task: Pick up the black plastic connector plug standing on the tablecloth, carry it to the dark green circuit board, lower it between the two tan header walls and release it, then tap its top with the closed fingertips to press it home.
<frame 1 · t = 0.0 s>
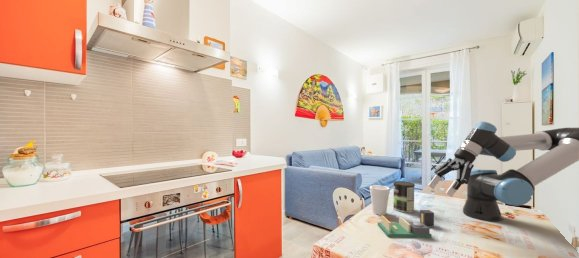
hand: (439, 190, 110), 15 cm above the table, tool tilted 35°, fingers open, 13 cm apart
coffee can: (403, 209, 131), on the table
board: (402, 230, 103), on the table
plug: (426, 224, 110), on the table
foam cup: (379, 213, 126), on the table
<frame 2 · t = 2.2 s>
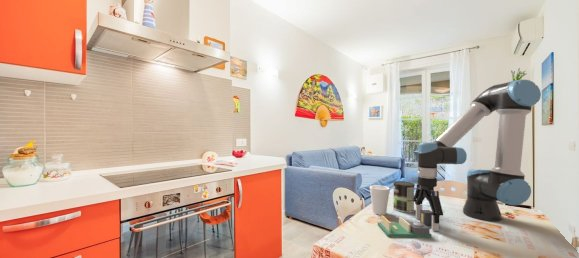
hand: (426, 224, 110), 0 cm above the table, tool pointing down, fingers open, 13 cm apart
nothing on the table moved.
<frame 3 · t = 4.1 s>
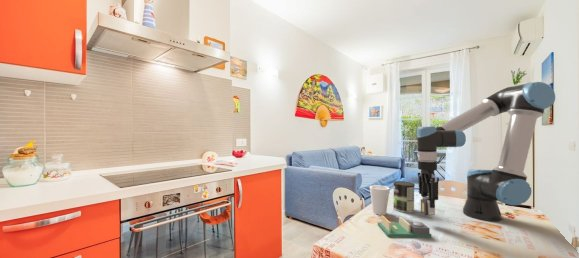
hand: (428, 212, 110), 5 cm above the table, tool pointing down, fingers closed on plug, 4 cm apart
plug: (427, 213, 110), point 5 cm above the table, touching gripper
everything else where it was.
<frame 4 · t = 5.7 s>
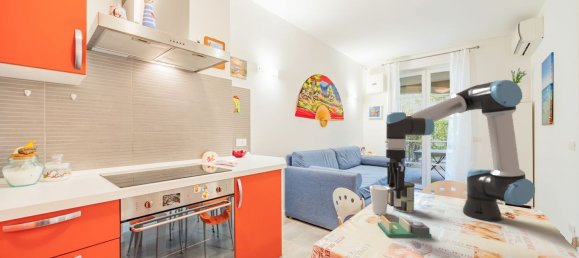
hand: (394, 204, 104), 11 cm above the table, tool pointing down, fingers closed on plug, 4 cm apart
plug: (393, 205, 104), point 11 cm above the table, touching gripper
everything else where it was.
when the fingers open (2 cm above the table, at t = 7.1 s): plug stays where it is, resting on board.
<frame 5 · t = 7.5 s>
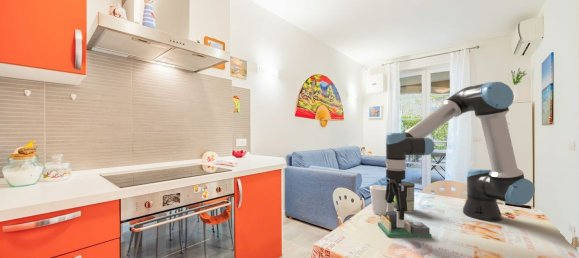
hand: (395, 222, 104), 3 cm above the table, tool pointing down, fingers open, 9 cm apart
plug: (394, 226, 104), point 1 cm above the table, tilted 7°, touching board
everything else where it was.
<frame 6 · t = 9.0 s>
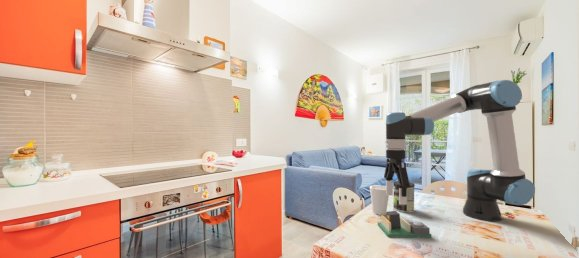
hand: (395, 199, 104), 13 cm above the table, tool pointing down, fingers open, 13 cm apart
nothing on the table moved.
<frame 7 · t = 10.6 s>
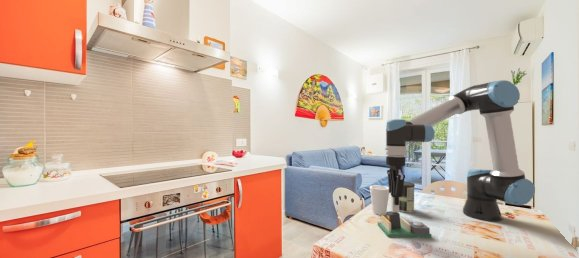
hand: (395, 211, 104), 8 cm above the table, tool pointing down, fingers closed
plug: (394, 227, 104), point 1 cm above the table, tilted 6°, touching board, gripper
everything else where it was.
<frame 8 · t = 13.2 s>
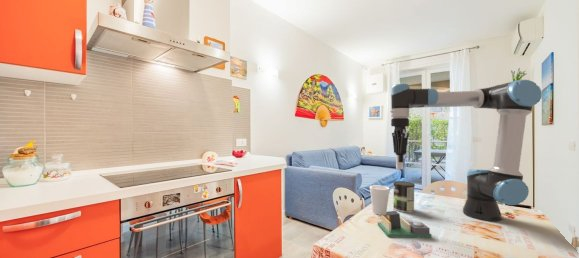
hand: (399, 168, 114), 24 cm above the table, tool pointing down, fingers closed
plug: (394, 227, 104), point 1 cm above the table, tilted 6°, touching board
everything else where it was.
at the end: plug 0.4 cm from the target spot on the board, point 1.4 cm above the board's base; plug tilted 6°; the gripper is holding nothing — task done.
